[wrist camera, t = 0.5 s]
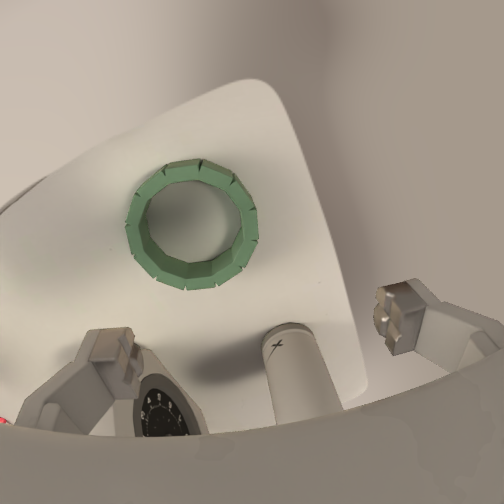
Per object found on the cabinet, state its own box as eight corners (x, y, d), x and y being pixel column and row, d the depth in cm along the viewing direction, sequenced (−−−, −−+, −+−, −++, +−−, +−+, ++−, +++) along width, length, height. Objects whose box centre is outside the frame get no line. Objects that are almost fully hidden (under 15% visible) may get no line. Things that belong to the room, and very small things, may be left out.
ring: (124, 170, 25) (114, 177, 22) (248, 153, 26) (252, 158, 23) (148, 278, 30) (142, 295, 27) (257, 266, 30) (262, 282, 28)
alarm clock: (214, 423, 41) (222, 544, 24) (171, 432, 42) (169, 546, 24) (131, 324, 32) (92, 493, 14) (83, 341, 32) (33, 486, 15)
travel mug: (256, 326, 34) (292, 502, 16) (315, 318, 34) (382, 479, 16) (258, 364, 36) (288, 520, 18) (311, 357, 37) (362, 502, 19)
